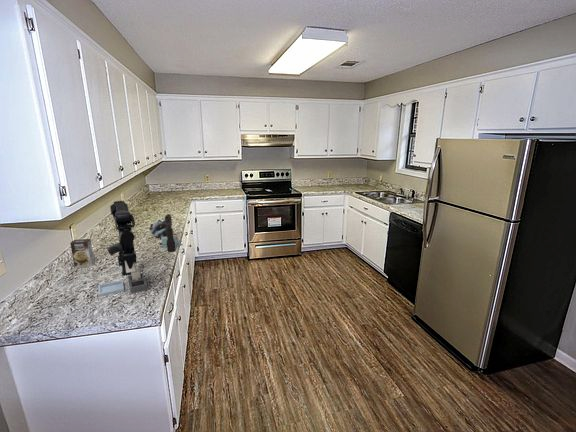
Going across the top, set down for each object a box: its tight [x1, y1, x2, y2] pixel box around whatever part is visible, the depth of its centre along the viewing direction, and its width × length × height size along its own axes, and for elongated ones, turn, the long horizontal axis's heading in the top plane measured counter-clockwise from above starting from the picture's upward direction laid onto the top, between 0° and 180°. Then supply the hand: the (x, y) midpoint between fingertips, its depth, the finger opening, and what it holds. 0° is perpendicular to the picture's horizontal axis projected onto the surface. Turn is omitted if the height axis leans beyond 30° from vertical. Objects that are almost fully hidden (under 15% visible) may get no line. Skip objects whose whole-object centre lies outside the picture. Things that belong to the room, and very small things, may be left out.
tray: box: [97, 279, 125, 298], centre depth 156 cm, size 11×11×2 cm
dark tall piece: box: [158, 213, 184, 253], centre depth 217 cm, size 16×21×33 cm
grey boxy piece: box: [127, 266, 148, 294], centre depth 160 cm, size 16×8×8 cm, turn 31°
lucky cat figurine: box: [148, 219, 166, 239], centre depth 241 cm, size 15×12×14 cm
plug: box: [125, 260, 136, 273], centre depth 153 cm, size 4×4×7 cm
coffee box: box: [69, 238, 95, 269], centre depth 184 cm, size 9×6×16 cm
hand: (130, 267), depth 153 cm, fingers closed on plug, 4 cm apart
